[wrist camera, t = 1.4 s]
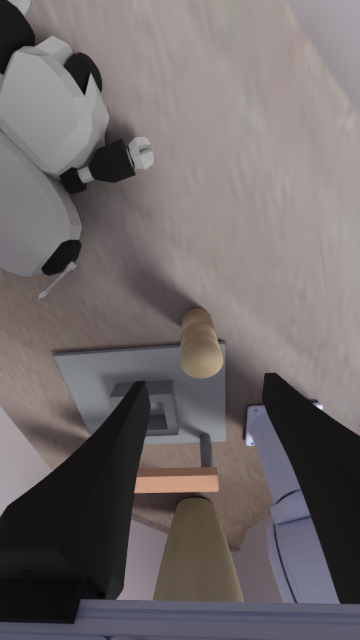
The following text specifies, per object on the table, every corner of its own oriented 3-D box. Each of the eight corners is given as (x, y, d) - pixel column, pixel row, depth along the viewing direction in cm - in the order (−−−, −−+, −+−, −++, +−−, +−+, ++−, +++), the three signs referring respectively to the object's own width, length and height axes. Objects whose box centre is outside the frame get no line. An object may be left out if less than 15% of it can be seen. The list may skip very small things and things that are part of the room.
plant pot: (178, 478, 33) (173, 664, 19) (247, 499, 36) (288, 678, 22) (146, 511, 39) (123, 674, 25) (207, 528, 42) (219, 684, 27)
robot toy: (35, 0, 12) (-65, 187, 16) (-39, -130, 8) (-153, 166, 11) (167, 173, 16) (62, 293, 19) (165, 147, 11) (31, 306, 15)
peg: (210, 306, 20) (222, 341, 13) (211, 333, 21) (223, 377, 14) (180, 308, 20) (177, 345, 13) (183, 335, 21) (182, 379, 15)
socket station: (224, 341, 21) (239, 383, 15) (224, 437, 28) (235, 492, 22) (56, 353, 23) (10, 397, 17) (97, 442, 30) (74, 495, 24)
